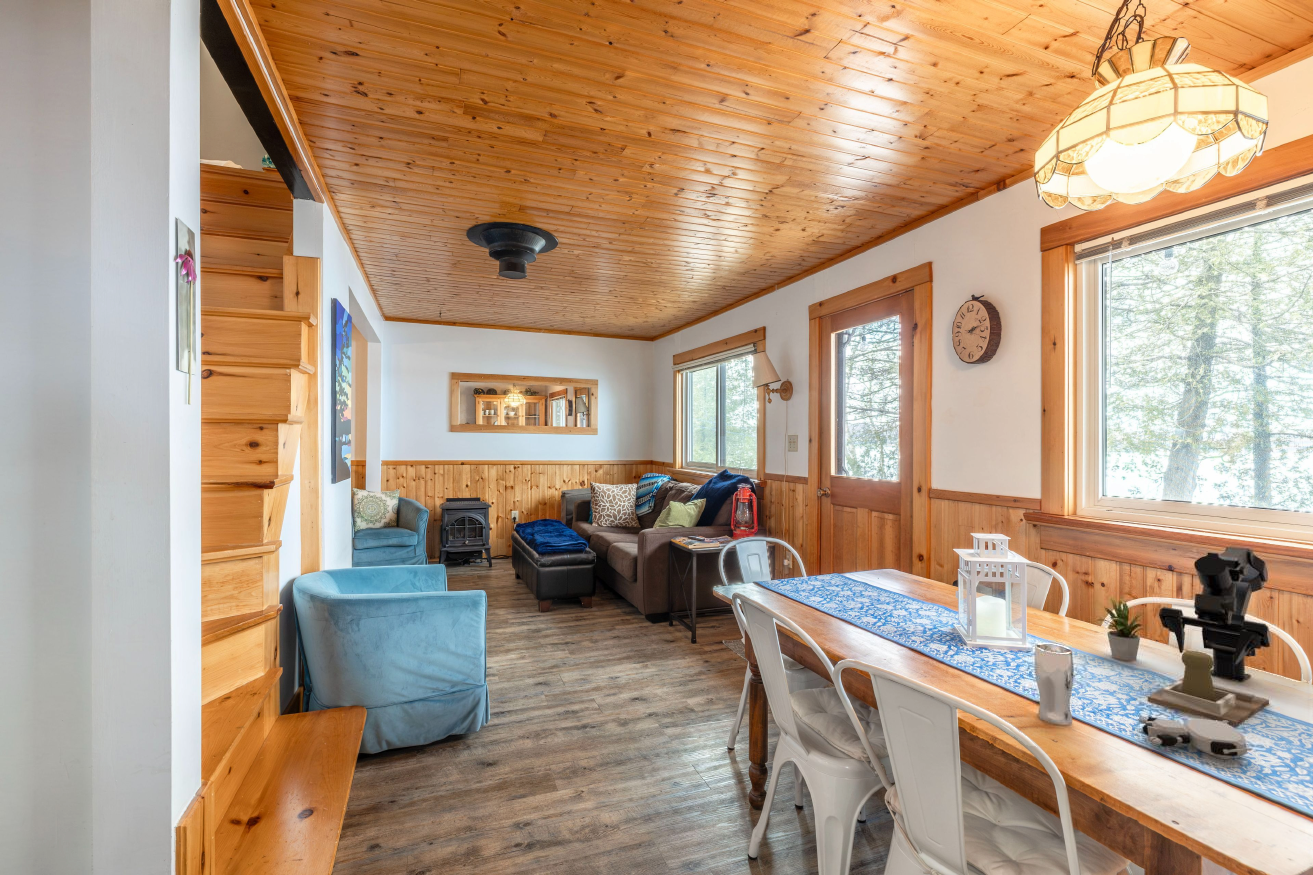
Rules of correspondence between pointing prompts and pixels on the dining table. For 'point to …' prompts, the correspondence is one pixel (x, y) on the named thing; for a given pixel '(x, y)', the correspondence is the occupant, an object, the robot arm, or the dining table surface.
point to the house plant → (1123, 632)
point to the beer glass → (1054, 682)
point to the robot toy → (1197, 736)
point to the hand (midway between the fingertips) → (1206, 657)
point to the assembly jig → (1212, 703)
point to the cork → (1198, 675)
